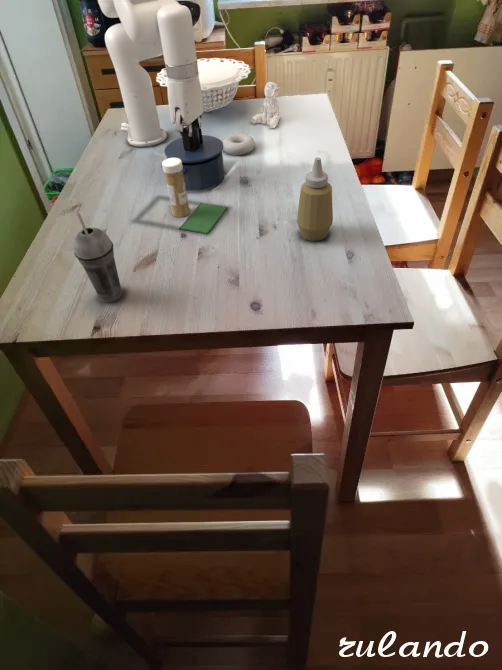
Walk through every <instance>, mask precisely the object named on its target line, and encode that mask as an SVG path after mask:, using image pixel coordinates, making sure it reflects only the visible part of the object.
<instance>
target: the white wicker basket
mask: <svg viewBox="0 0 502 670" xmlns="http://www.w3.org/2000/svg"><path fill="white" fill-rule="evenodd" d="M197 64H198V72H199V80H200V85H201V90H202V97H203V105H204V110H203V112H205V113H210V112H211V111H214V110H218V109H221V108H225V107H226V106H228V105H229V104H230V103H231V102H232V101H233V100H234V99H235V96H236V94H237V91H238V89H239V83H240V82H241V81H242V80H245V79H248V78H249V76H248V75H250V74H251V73H252V71H251V70H252V69H251V67H250V65H249V64H246V63H245V61H243V60H236V59H234V58H226V57H224V58H221V57H212V58H205V57H204V58H203V57H202V58H197ZM155 81H156V82H157V83H158V84H159V86H160V87H166V88H167V81H168V78H167V72H166V67H164V68H162V69H161V70H160V71H159V72H157V74H156V76H155Z"/></svg>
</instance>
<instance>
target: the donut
mask: <svg viewBox="0 0 502 670" xmlns="http://www.w3.org/2000/svg"><path fill="white" fill-rule="evenodd" d="M222 142H223V146H224V148H223V150H222V151H224V152H225V153H227V154H229V155H233V156H243V155H246V154H248V153H250V152H251V151H252V150H254V148H255V146H256V141H255V138H254V137H253V136H252V135H250V134H248V133H242V132H239V133H232V134H230V135H227V136H226V137H225V138H224V139H223V140H222Z"/></svg>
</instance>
